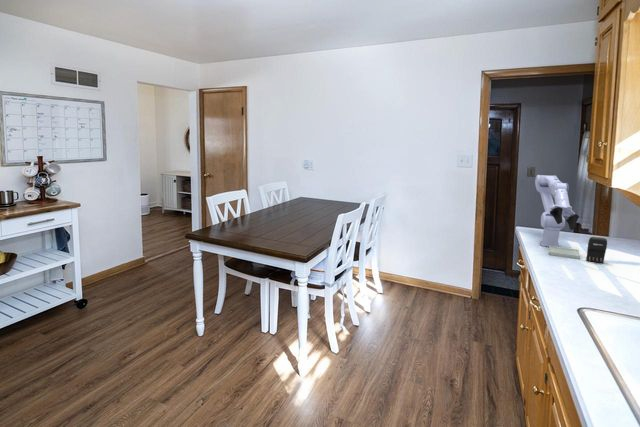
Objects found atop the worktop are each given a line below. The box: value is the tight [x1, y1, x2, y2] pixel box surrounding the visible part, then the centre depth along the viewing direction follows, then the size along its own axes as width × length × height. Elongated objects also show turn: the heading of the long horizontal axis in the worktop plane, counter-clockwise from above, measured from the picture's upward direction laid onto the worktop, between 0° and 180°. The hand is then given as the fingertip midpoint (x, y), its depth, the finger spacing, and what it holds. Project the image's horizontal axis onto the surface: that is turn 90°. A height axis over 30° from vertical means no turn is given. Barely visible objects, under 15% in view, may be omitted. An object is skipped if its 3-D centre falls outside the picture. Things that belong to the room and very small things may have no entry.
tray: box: [548, 246, 581, 260], centre depth 192 cm, size 12×12×2 cm
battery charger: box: [585, 235, 608, 264], centre depth 179 cm, size 7×4×11 cm, turn 58°
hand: (566, 226), depth 184 cm, fingers open, 7 cm apart
